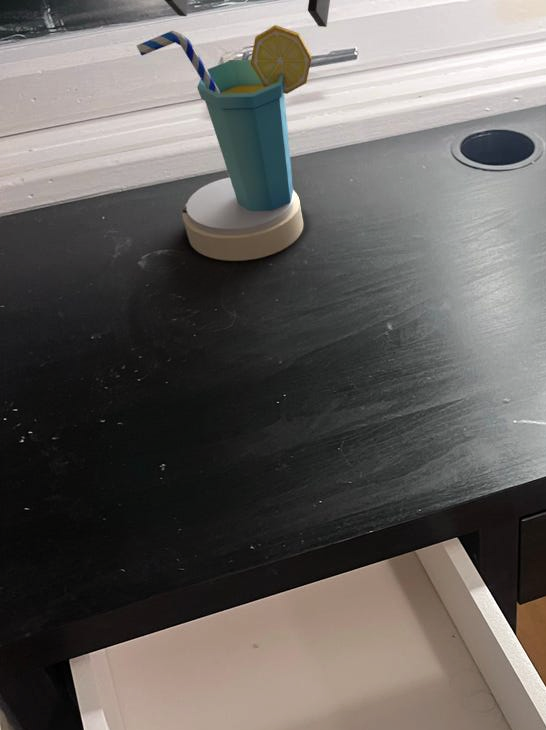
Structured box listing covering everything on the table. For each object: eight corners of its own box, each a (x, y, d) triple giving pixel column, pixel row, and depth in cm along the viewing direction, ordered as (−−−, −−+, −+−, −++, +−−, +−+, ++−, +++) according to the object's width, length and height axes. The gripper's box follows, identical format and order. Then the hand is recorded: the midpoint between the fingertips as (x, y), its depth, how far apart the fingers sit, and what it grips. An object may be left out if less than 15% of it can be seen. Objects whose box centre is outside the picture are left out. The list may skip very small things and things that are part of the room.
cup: (191, 235, 89) (142, 55, 77) (174, 196, 94) (126, 20, 82) (339, 202, 92) (314, 23, 80) (316, 166, 97) (289, -9, 85)
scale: (169, 255, 93) (160, 224, 91) (217, 197, 99) (209, 167, 97) (278, 268, 91) (272, 237, 89) (319, 208, 98) (315, 178, 95)
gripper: (426, -211, 87) (390, 44, 90) (166, -219, 91) (140, 25, 94) (403, -281, 79) (365, 0, 82) (122, -285, 84) (95, -19, 87)
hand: (245, 14), depth 88 cm, fingers open, 13 cm apart
